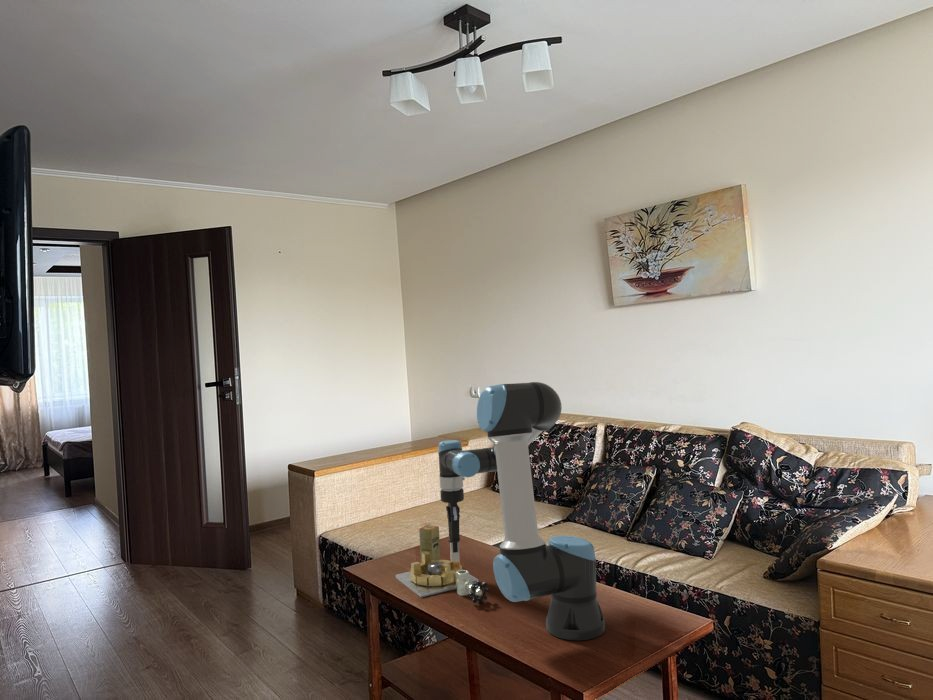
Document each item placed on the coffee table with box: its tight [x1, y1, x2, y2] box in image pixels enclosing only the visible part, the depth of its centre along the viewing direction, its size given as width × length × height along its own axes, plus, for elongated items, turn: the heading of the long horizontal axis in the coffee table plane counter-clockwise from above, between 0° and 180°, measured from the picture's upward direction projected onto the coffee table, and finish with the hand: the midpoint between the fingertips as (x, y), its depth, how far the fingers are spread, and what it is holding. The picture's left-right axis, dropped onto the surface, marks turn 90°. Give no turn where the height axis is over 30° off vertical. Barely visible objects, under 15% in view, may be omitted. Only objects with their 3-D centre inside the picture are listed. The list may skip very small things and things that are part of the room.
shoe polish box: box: [418, 524, 441, 563], centre depth 223 cm, size 5×5×12 cm
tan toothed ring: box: [409, 552, 463, 586], centre depth 206 cm, size 16×16×6 cm
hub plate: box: [395, 562, 480, 598], centre depth 206 cm, size 20×20×5 cm
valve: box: [456, 569, 490, 605], centre depth 191 cm, size 7×7×12 cm
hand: (455, 561), depth 208 cm, fingers closed
